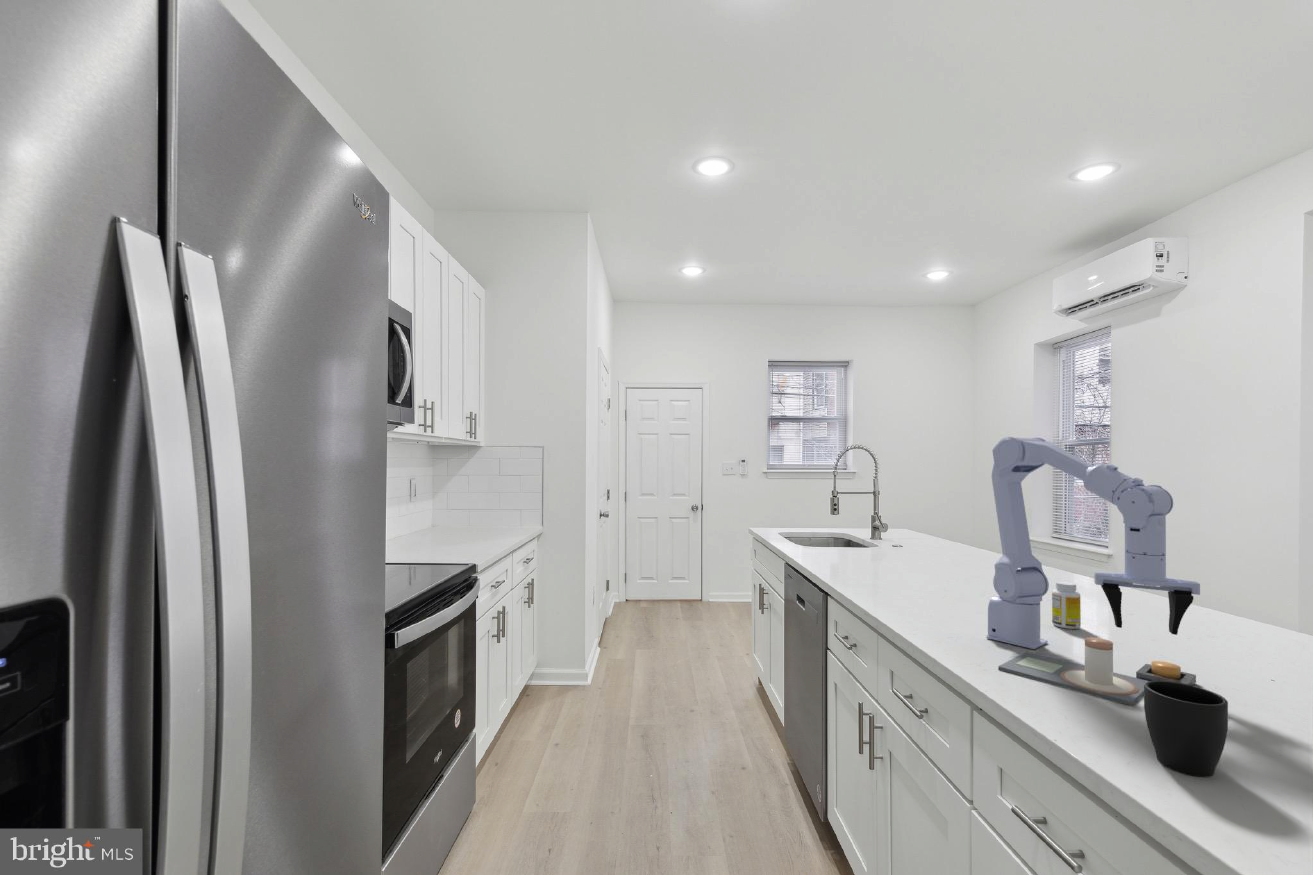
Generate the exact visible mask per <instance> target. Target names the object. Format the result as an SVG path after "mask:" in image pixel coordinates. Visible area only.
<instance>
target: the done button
mask: <svg viewBox="0 0 1313 875" xmlns="http://www.w3.org/2000/svg"><path fill="white" fill-rule="evenodd" d="M1150 665H1151V673H1152V674H1154V675H1159V676H1163V677H1167V678H1171V679H1181V672H1182V671H1181V670H1182V669H1181V668H1182V667H1181V666H1180V665H1178V664H1174V663H1172V662H1167V661H1160V660H1152V661H1151V664H1150Z"/></svg>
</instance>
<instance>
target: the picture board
mask: <svg viewBox="0 0 1313 875" xmlns="http://www.w3.org/2000/svg"><path fill="white" fill-rule="evenodd" d="M997 669H998V670H999V671H1001V672H1002V671H1003V672H1006V673H1010V674H1014V675H1017V676H1021V677H1025V678H1028V679H1032V680H1036V681H1040V682H1043V683H1046V684H1050V685H1054V686H1058V687H1061V688H1066V689H1068V690H1072V691H1076V692H1080V693H1082V694H1083V693H1084V694H1085V695H1086V694H1087V695H1091V696H1095V697H1098V698H1102V699H1105V700H1109V701H1113V702H1116V703H1120V704H1124V705H1126V706H1127V705H1128V706H1130V707H1131V706H1133V705H1134V704H1135V703H1136V702H1137V701H1138V700H1139V699H1141V697H1142V696H1144V685H1145V683H1146V682H1149V681H1147V680H1143V679H1139V678H1136V676H1135V677H1134V676H1130V675H1126V674H1122V673H1117V672H1114V671H1113V685H1099V684H1095V683H1091V682H1089V681H1087V680H1085V664H1080V663H1076V662H1072V661H1068V660H1063V659H1061V658H1060V659H1059V658H1056V657H1052V656H1048V655H1043V654H1040V653H1039V654H1038V653H1036V652H1031V651H1025V652H1023V653H1021V654H1020V655H1017V656H1015V657H1013V658H1012V659H1010V660H1008V661H1006V662H1004V663H1001V664H1000V665H998V667H997Z"/></svg>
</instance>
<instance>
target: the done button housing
mask: <svg viewBox="0 0 1313 875" xmlns="http://www.w3.org/2000/svg"><path fill="white" fill-rule="evenodd" d="M1135 678H1139V679H1143V680H1147V681H1170V680H1177V681H1180V682H1182V683H1183V684H1188V685H1192V686H1196V684H1195V683H1197V675H1196V674H1195V673H1189V672H1185V671H1181V679H1171V678H1167V677H1163V676H1159V675H1154V674H1152V673H1151V664H1148V663H1145V664H1144V665H1142V667H1140V668H1139V669H1138V670H1137V671H1136V672H1135Z"/></svg>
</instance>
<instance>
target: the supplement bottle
mask: <svg viewBox="0 0 1313 875" xmlns="http://www.w3.org/2000/svg"><path fill="white" fill-rule="evenodd" d="M1081 611H1082V610H1081V593H1079V592H1078V591H1077V584H1076V583H1074V582H1070V581H1060V580H1059V581H1058V580H1057V581H1056V582H1055V589H1053V590H1051V618H1052V619H1051V622H1052V624H1053V625H1054V626H1055V627H1057V628H1061V629H1066V630H1068V629H1069V630H1078V629H1080V628H1081V627H1082V626H1081V624H1082V623H1081V622H1082V621H1081V613H1082V612H1081Z"/></svg>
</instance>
